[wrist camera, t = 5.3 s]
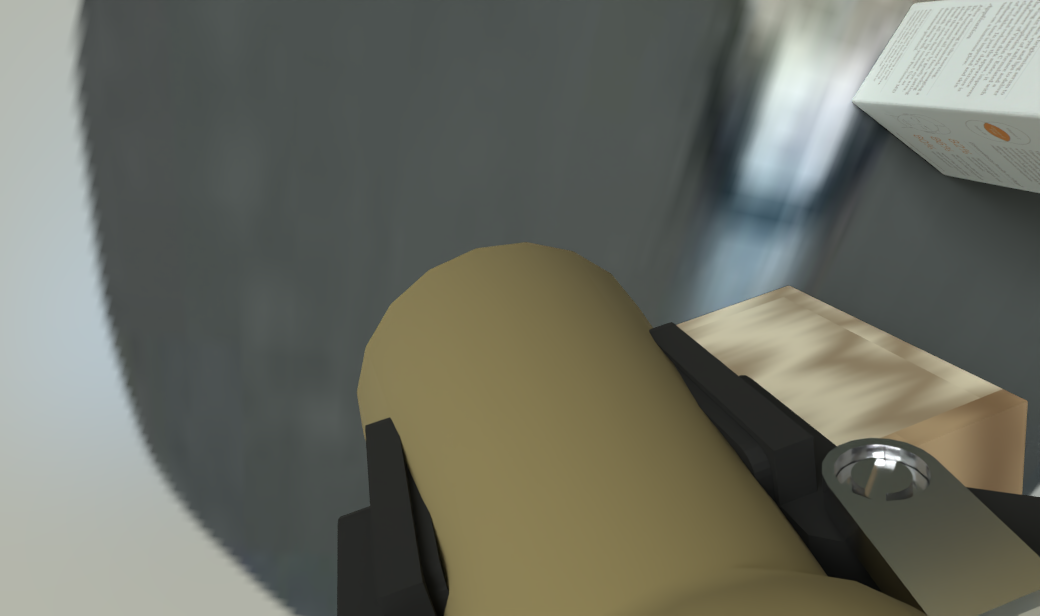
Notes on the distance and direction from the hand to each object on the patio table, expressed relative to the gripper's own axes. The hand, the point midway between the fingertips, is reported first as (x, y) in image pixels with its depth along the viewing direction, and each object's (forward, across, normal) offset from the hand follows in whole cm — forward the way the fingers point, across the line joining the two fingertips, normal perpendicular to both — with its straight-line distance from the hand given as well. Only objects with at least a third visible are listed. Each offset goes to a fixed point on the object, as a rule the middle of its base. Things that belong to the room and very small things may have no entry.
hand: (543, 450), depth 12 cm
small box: (+22, -27, +2) cm, 35 cm away
